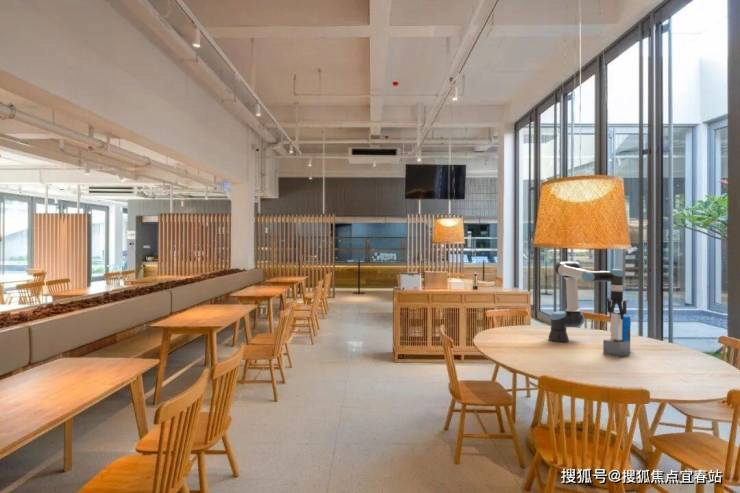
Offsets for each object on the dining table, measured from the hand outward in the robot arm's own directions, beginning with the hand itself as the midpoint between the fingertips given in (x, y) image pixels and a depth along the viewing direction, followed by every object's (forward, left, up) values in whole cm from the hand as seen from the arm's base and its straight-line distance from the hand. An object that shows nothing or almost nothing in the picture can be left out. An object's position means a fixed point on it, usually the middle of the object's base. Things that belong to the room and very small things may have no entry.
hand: (616, 322), depth 298 cm
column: (0, 0, -15) cm, 15 cm away
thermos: (-7, +19, -23) cm, 31 cm away
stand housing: (0, 0, -23) cm, 23 cm away
